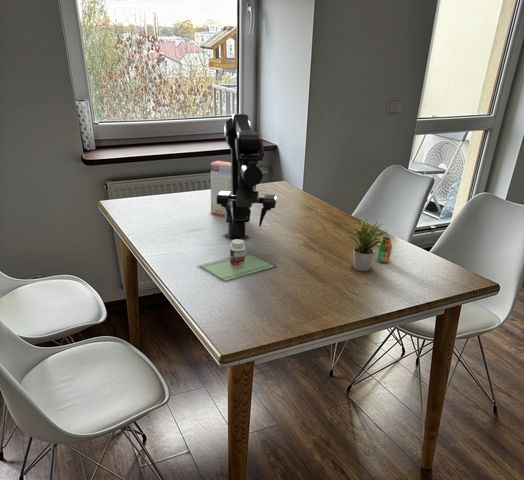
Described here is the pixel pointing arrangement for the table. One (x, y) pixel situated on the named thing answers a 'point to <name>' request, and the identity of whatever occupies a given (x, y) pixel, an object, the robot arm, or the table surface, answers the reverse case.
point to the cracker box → (219, 184)
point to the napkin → (228, 272)
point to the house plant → (365, 246)
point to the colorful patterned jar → (384, 250)
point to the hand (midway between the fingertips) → (246, 225)
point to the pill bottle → (237, 254)
